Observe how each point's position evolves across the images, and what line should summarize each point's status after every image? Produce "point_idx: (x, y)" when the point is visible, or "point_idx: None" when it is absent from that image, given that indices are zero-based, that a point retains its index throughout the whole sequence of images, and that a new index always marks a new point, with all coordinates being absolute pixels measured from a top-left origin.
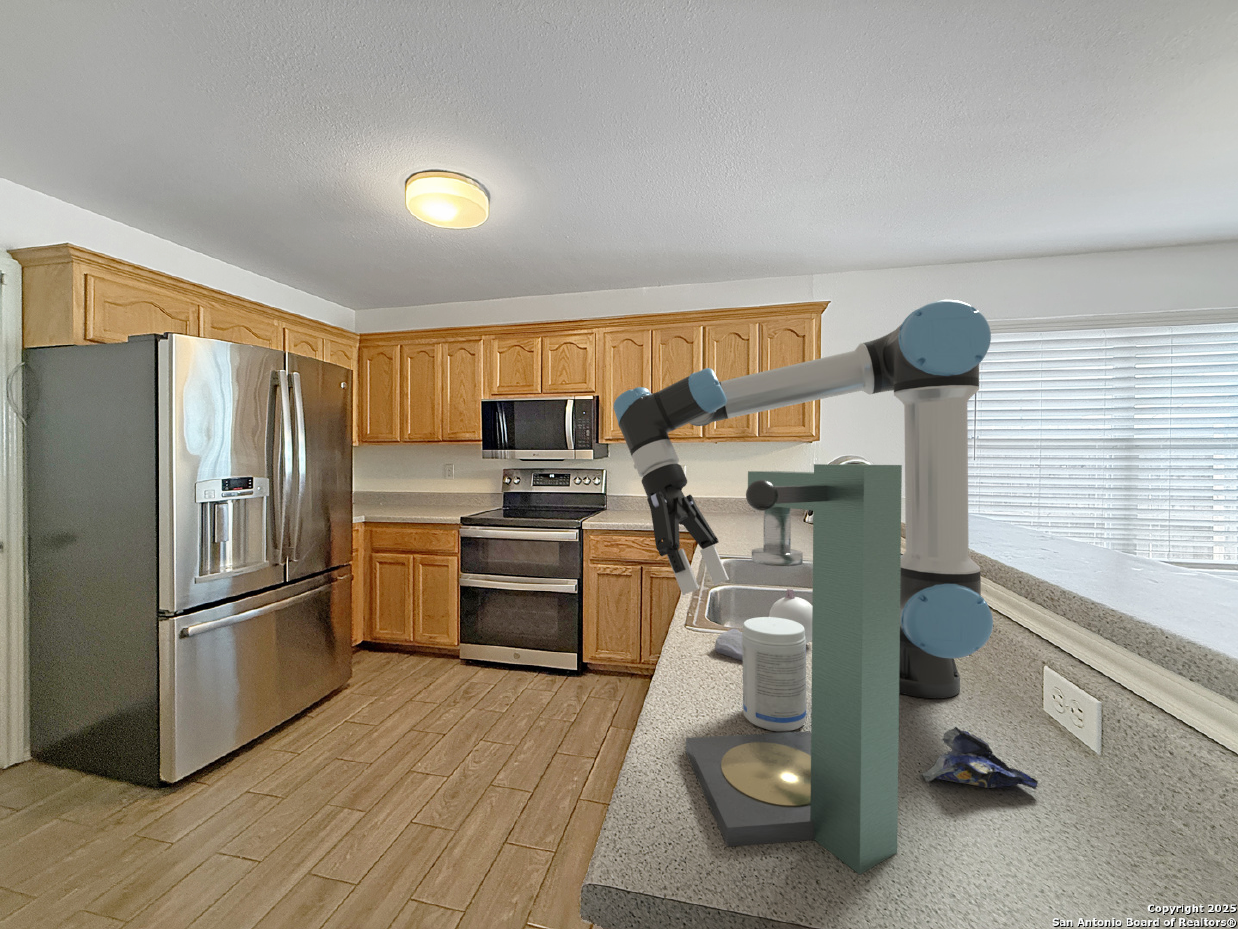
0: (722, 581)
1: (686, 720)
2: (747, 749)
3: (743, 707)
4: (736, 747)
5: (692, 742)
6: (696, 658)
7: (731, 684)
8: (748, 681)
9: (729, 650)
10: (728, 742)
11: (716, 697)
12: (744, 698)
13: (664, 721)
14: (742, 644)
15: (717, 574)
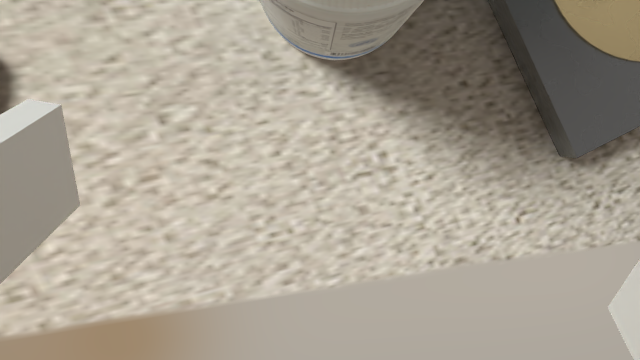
0: (65, 146)
1: (419, 187)
2: (592, 13)
3: (361, 54)
4: (590, 38)
5: (592, 138)
6: None
7: (169, 118)
8: (407, 18)
9: None
10: (566, 61)
11: (269, 142)
12: (376, 45)
13: (442, 234)
14: (368, 22)
15: (29, 192)
